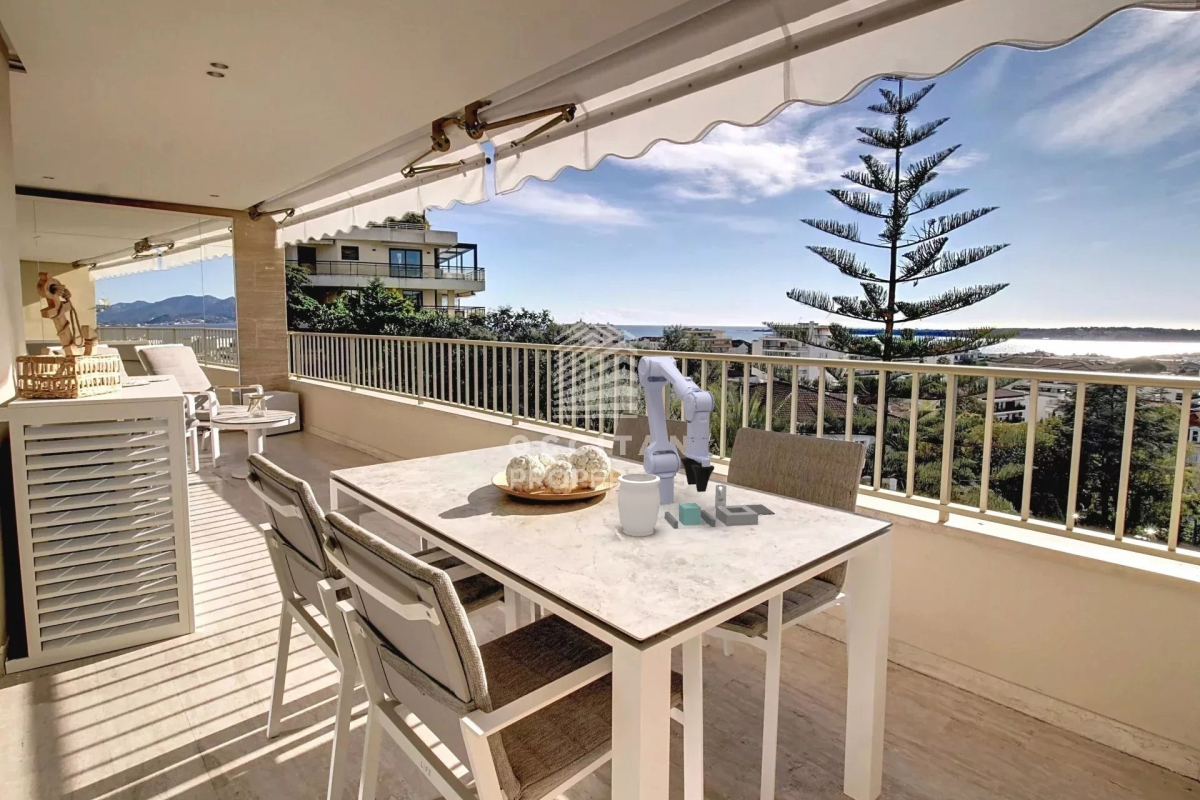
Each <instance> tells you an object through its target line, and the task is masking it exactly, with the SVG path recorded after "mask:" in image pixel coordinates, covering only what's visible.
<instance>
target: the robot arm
mask: <svg viewBox="0 0 1200 800" xmlns="http://www.w3.org/2000/svg"><path fill="white" fill-rule="evenodd" d="M637 365H638V366H637V372H638V379H639V384H640V386H642V388H643V391H644V396H645V404H646V405H645V406H646V411H647V413H646V414H647V420H648V428H649V433H650V434H649V436H650V442H651V443H650V444H649V445H648V446H647V447H645V448H644V451H643V463H642V465H643V470H644V471H645V474H651V475H655V476H658V477H659V478H660V483H659V484H658V487H659V492H660V505H671V504H673V503H674V494H675V490H674V489H675V487H674V486H675V485H674V484H675V477H676V476H677V473H679V472H680V471H681V470H680V469H681V466H682V465H683V469H684V472H685V476H686V482H687V485H689V486H691V485H692V486H693V485H695V488H696V492H697V493H703V492H704V493H705V492H706V491H707V487H708V484H709V480H710V478H711V476H712V473H713V472H714V470H715V466H714V465H713V464H712V465H711V457H714V456H713V453H712V452H709V444H710V443H709V440H710V433H709V432H710V414H711V413H712V412H713V411H714V408H715V398H714V395H713V394H712V392H711V391H709V390H702V389H701V388H700V387H699V386H698V385H697V384H696V383H695V382H694V380H693V379H692V377H691V376H683V374H682V373H681V372H680V370H679V369H678V368H677V360H676V359H675V358H674V357H673V356H672V355H668V356H664V355H663V356H661V355H660V356H659V355H658V356H657V355H654V356H647V355H643V356H642V357H641V358H640V359H639V362H638V364H637ZM669 383H670V384H671V385H673V392H674V393H675V395H676V396H677V397H678V398H679V399H680V400H681V401H682V405H683V410H684V417H685V420H686V448H685V449H684V452H685V453H684V456H685V457H680V456H679V453H678V449H677V446H676V445H674V444H673V443H672V442H670V441H669V435H668V428H667V422H666V421H667V420H666V414H665V406H664V398H663V393H662V390H663V387H665V386H667V385H668V384H669Z"/></svg>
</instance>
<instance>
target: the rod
mask: <svg viewBox="0 0 1200 800" xmlns="http://www.w3.org/2000/svg"><path fill="white" fill-rule="evenodd" d="M714 497H715V500H714V501H715V504H714V508H715V509H716V506H727V485H724V484H716V485H715V496H714Z"/></svg>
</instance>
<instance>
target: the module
mask: <svg viewBox="0 0 1200 800" xmlns="http://www.w3.org/2000/svg"><path fill="white" fill-rule="evenodd" d="M701 510H702V507H700V505H699V504H697V503H696V502H688V503H686V502H685V503H679V504H678V518H679V521H680V522H681V523H682V524H683V525H700V523H701Z"/></svg>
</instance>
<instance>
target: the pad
mask: <svg viewBox="0 0 1200 800" xmlns="http://www.w3.org/2000/svg"><path fill="white" fill-rule="evenodd" d="M745 505H746V506H748V507H749V508H750V509H752V510H753V511H755V512H756V513H758V516H760V515H759V514H768V515H776V513H775V512H774V511H772V510H771V509H770V508H767V507H766V506H765V505H764V504H761V503H759V504H758V503H757V504H745Z"/></svg>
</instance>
